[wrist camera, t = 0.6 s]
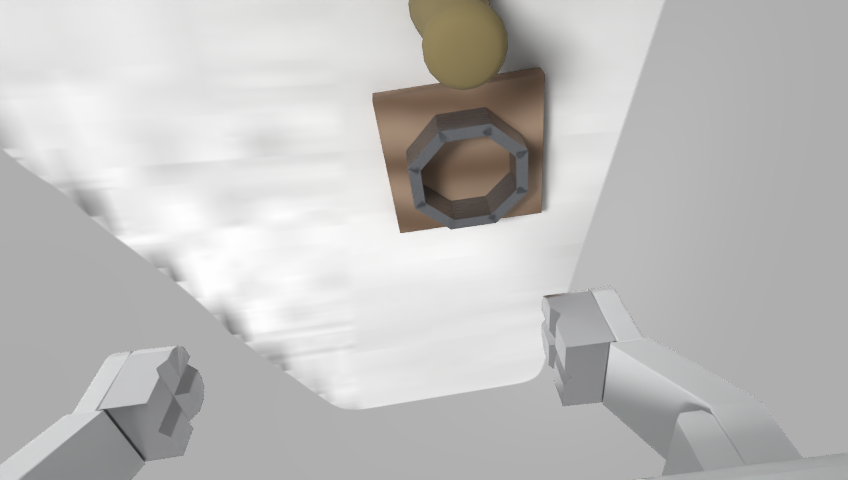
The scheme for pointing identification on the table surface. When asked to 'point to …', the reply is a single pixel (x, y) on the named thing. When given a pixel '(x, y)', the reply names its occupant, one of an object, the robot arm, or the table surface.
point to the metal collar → (478, 207)
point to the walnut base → (462, 142)
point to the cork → (460, 40)
